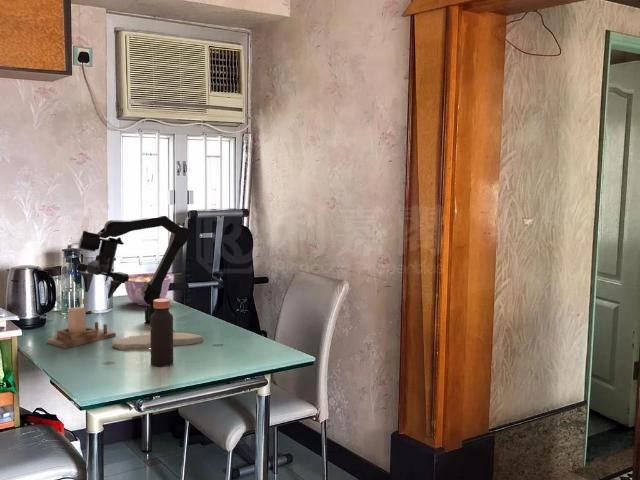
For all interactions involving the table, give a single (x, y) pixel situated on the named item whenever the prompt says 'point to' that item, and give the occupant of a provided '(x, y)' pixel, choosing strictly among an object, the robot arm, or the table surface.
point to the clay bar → (77, 320)
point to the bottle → (161, 334)
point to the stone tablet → (145, 341)
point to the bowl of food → (137, 284)
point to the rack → (80, 336)
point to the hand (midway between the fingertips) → (97, 295)
